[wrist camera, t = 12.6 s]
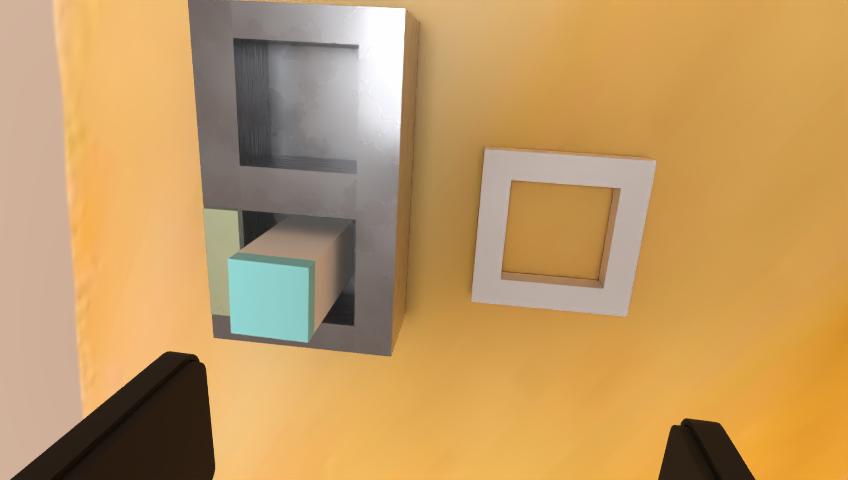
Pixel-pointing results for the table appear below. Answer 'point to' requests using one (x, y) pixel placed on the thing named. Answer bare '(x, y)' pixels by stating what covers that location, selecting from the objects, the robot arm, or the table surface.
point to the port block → (309, 147)
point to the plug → (290, 277)
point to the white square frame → (620, 243)
